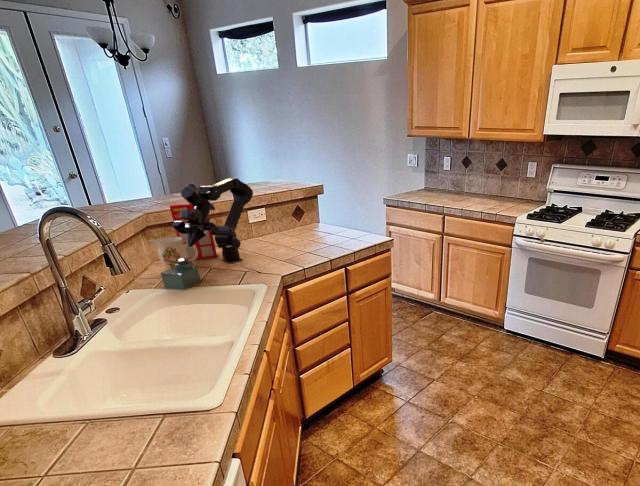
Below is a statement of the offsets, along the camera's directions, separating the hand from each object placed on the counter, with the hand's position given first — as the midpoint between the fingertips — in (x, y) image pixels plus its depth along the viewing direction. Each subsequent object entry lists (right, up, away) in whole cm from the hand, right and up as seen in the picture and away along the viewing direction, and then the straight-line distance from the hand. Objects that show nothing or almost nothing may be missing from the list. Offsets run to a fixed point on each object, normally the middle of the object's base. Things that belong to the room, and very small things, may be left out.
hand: (189, 246), depth 173 cm
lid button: (-1, -8, -2) cm, 8 cm away
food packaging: (-11, +2, +33) cm, 34 cm away
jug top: (-2, -16, -1) cm, 16 cm away
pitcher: (-13, -7, +17) cm, 22 cm away
